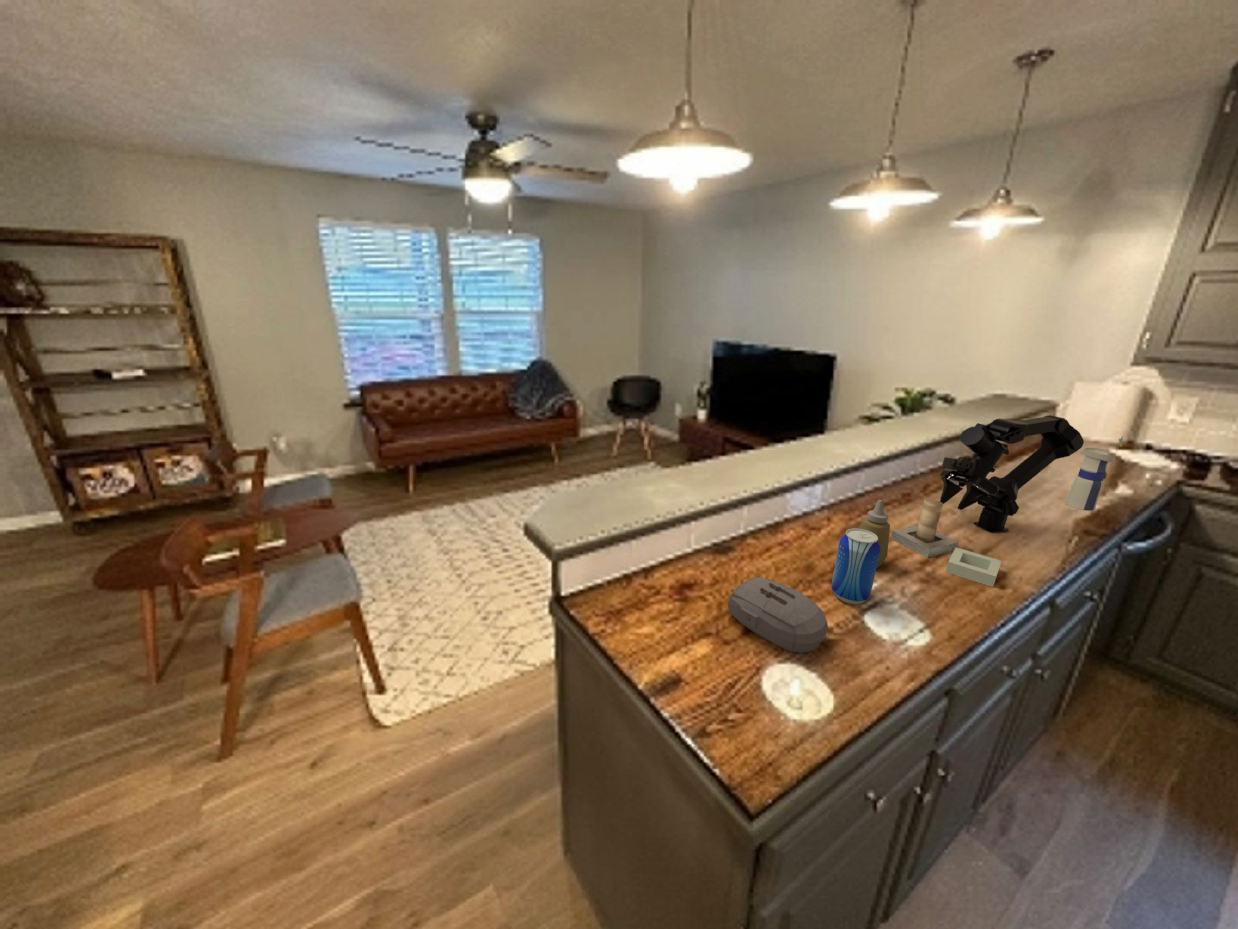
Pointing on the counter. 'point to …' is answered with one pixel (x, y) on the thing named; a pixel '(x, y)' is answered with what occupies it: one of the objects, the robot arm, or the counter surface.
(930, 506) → the tan rounded peg
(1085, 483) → the water bottle
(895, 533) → the socket block
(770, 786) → the counter surface
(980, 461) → the robot arm
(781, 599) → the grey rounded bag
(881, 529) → the squeeze bottle
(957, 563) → the collar
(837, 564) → the beer can
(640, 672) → the counter surface
